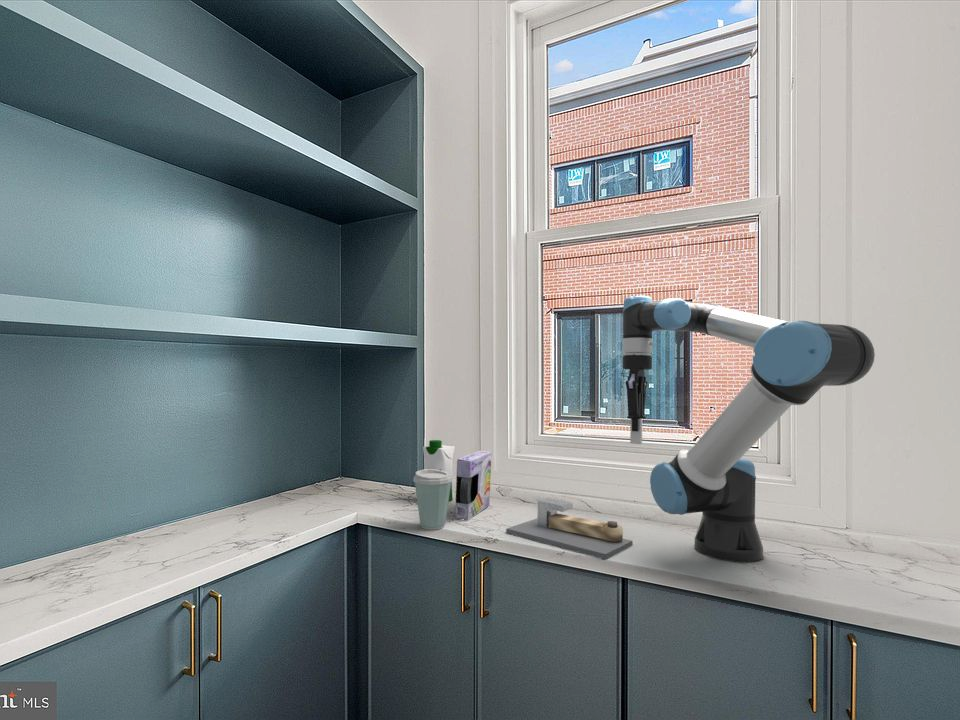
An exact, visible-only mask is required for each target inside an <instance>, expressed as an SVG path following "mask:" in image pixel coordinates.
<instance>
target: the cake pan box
mask: <svg viewBox="0 0 960 720" xmlns="http://www.w3.org/2000/svg"><path fill="white" fill-rule="evenodd" d="M492 453H493V452H492V451H487V450H478V451H475V452H473V453H472V452H471V453H469V454H466V455H465V456H462V457H459V458H457V460H456V478H455V479H456V483H455V484H456V486H455V502H454V503H455V507H454V511H455V512H454V519H455V518H456V519H455V520H460V519H464V520H463V521H467V520H468V521H470V520H471V519H472V517H473V518H474V517H475V516H477V515H478V514H479V513H481V512H482V511H484V510H485V509H486V508H488V507H490V497H491V496H490V495H491V475H492V474H491V472H492ZM469 519H470V520H469Z"/></svg>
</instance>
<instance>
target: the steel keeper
mask: <svg viewBox="0 0 960 720" xmlns="http://www.w3.org/2000/svg"><path fill="white" fill-rule="evenodd" d="M573 505H574V503H573V502H571V501H566V500H563V499H562V500H561V499H556V498H551V497H546V498H542V499H539V500H537V514H536V515H537V518H536V519H537V525H539V526H543V527H549V516H551V515H553V514H556V513H558V512H562V513H563V512H564V513H565V512H566V511H569V510H573V508H574V506H573Z"/></svg>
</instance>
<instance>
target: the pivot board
mask: <svg viewBox="0 0 960 720" xmlns="http://www.w3.org/2000/svg"><path fill="white" fill-rule="evenodd" d="M505 531H506V532H505V533H506V534H508V533H509V535H512V534H513V536H516V535H517V536H516V537H519V536H520V538H523V537H524V538H523V539H527V538H528V540H531V539H532V540H531V541H534V540H536V542H538V541H539V542H540V543H543V544H546V543H547V545H550V546H553V547H558V548H562V549H564V550H569V551H572V552H576V553H581V554H585V555H588V556H591V557H595V558H599V559H603V560H607V559H609V558H611V557H613V556H615V555H617V554H618V553H620V552H623V551H624V550H627V549H629V548H631V547H632V546H633V545H634V544H633V542H634V541H633V540H631V539H626V538H623V540H622V541H619V542H612V541H606V540H604V539H600V538H595V537H591V536H586V535H581V534H577V533H572V532H567V531H563V530H558V529H554V528H549V527H543V526H539V525H537V518H534V519H531V520H528V521H525V522H522V523H519V524H516V525H513V526H509V527H507V528H506V530H505Z"/></svg>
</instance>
